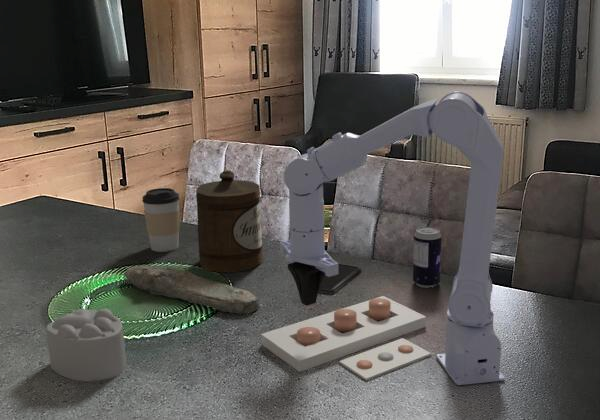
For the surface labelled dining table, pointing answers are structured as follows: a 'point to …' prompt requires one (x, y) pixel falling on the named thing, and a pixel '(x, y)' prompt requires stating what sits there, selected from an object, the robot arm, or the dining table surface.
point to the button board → (340, 335)
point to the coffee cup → (162, 218)
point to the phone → (338, 279)
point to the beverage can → (427, 257)
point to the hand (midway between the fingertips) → (308, 303)
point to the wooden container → (229, 224)
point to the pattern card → (384, 359)
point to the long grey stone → (192, 288)
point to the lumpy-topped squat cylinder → (87, 345)
